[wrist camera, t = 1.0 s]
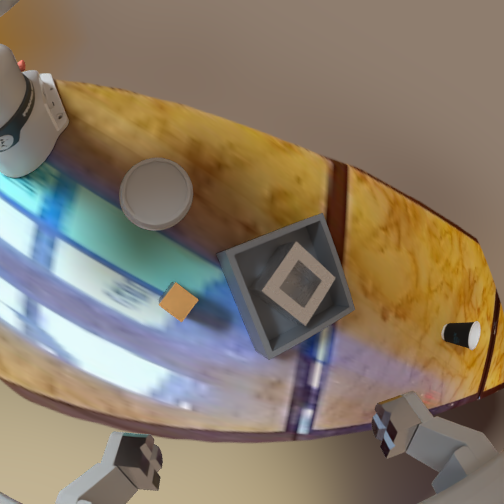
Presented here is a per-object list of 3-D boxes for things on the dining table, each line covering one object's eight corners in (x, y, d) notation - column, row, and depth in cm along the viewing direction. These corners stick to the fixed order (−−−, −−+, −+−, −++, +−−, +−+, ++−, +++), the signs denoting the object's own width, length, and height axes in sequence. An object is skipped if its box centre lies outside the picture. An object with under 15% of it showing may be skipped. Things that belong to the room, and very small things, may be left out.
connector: (157, 299, 43) (158, 305, 36) (172, 280, 44) (176, 282, 37) (176, 314, 44) (181, 322, 37) (190, 295, 45) (198, 299, 38)
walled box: (216, 253, 47) (225, 250, 41) (305, 219, 53) (322, 212, 47) (255, 350, 48) (269, 359, 42) (335, 306, 54) (355, 309, 48)
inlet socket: (248, 289, 47) (261, 290, 42) (279, 245, 50) (296, 241, 44) (288, 320, 49) (305, 325, 44) (316, 277, 52) (335, 277, 46)
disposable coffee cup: (187, 187, 46) (199, 160, 35) (179, 244, 45) (189, 233, 34) (131, 179, 43) (126, 149, 32) (121, 236, 42) (111, 223, 31)
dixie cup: (454, 325, 69) (482, 328, 59) (445, 349, 67) (474, 353, 57) (444, 314, 67) (475, 316, 57) (435, 339, 65) (466, 343, 55)
